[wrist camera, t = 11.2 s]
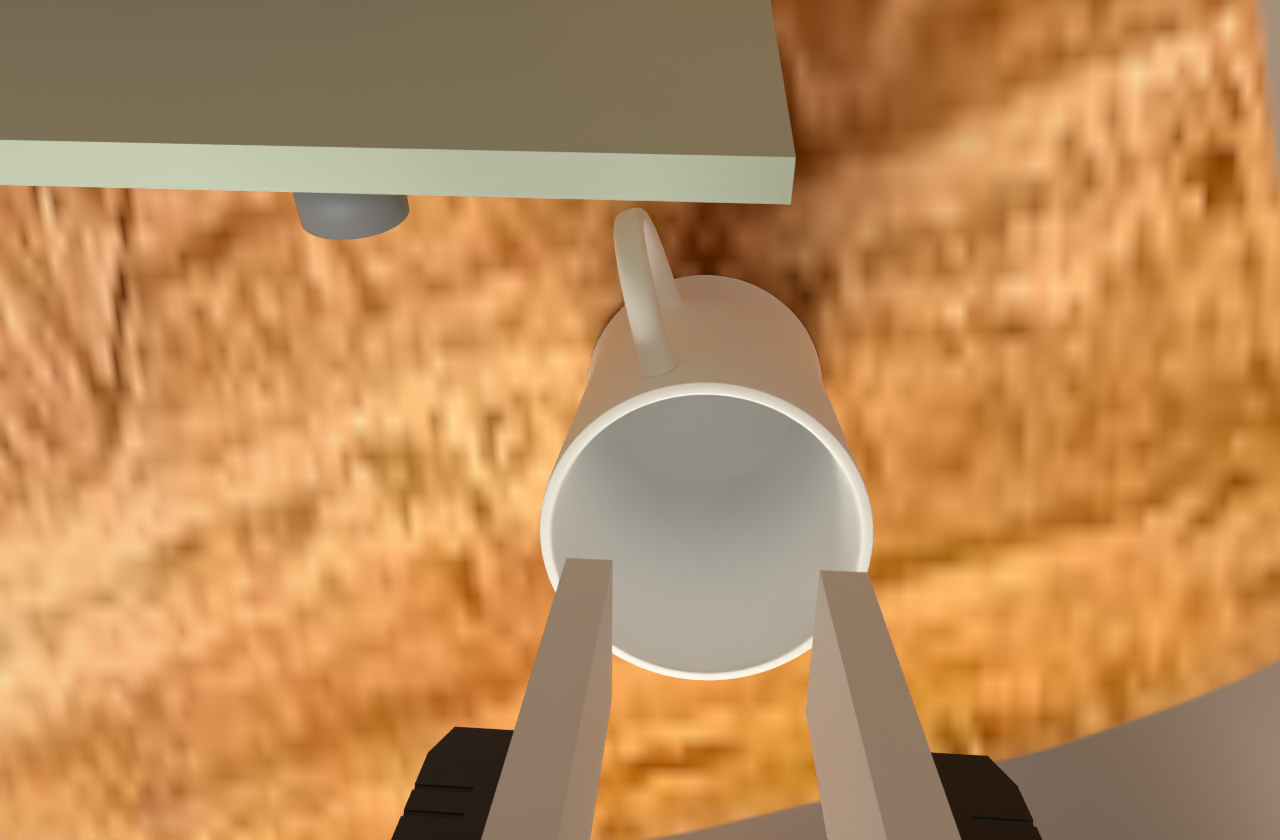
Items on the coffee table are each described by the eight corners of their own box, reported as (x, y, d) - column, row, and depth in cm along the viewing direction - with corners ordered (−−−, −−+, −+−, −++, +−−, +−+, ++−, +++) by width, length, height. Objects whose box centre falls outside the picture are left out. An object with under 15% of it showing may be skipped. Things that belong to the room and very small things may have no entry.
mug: (543, 207, 31) (451, 268, 19) (788, 156, 30) (842, 190, 18) (615, 511, 34) (573, 710, 23) (836, 475, 33) (903, 666, 22)
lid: (-190, -44, 23) (-135, 57, 24) (-661, 97, 15) (-535, 230, 17) (770, -34, 21) (761, 71, 23) (799, 125, 14) (783, 268, 15)
